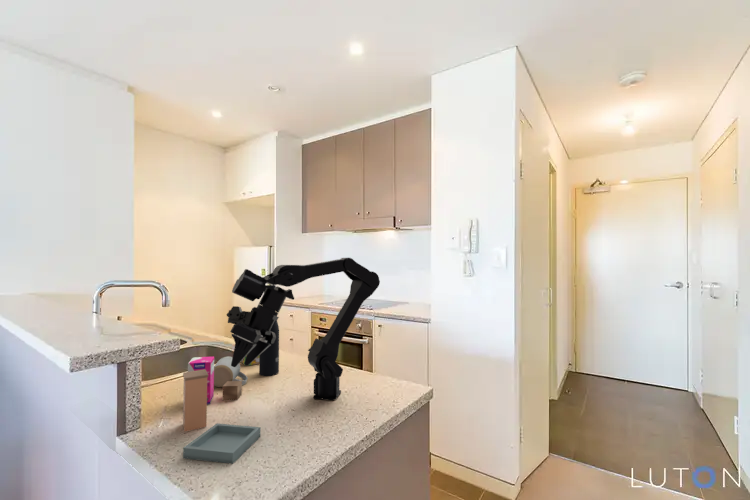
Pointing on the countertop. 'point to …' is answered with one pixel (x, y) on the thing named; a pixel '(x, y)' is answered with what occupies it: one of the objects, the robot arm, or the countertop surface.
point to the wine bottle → (270, 353)
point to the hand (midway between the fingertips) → (239, 365)
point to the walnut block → (232, 390)
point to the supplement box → (208, 365)
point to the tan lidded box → (195, 400)
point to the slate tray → (222, 443)
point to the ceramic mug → (227, 372)
